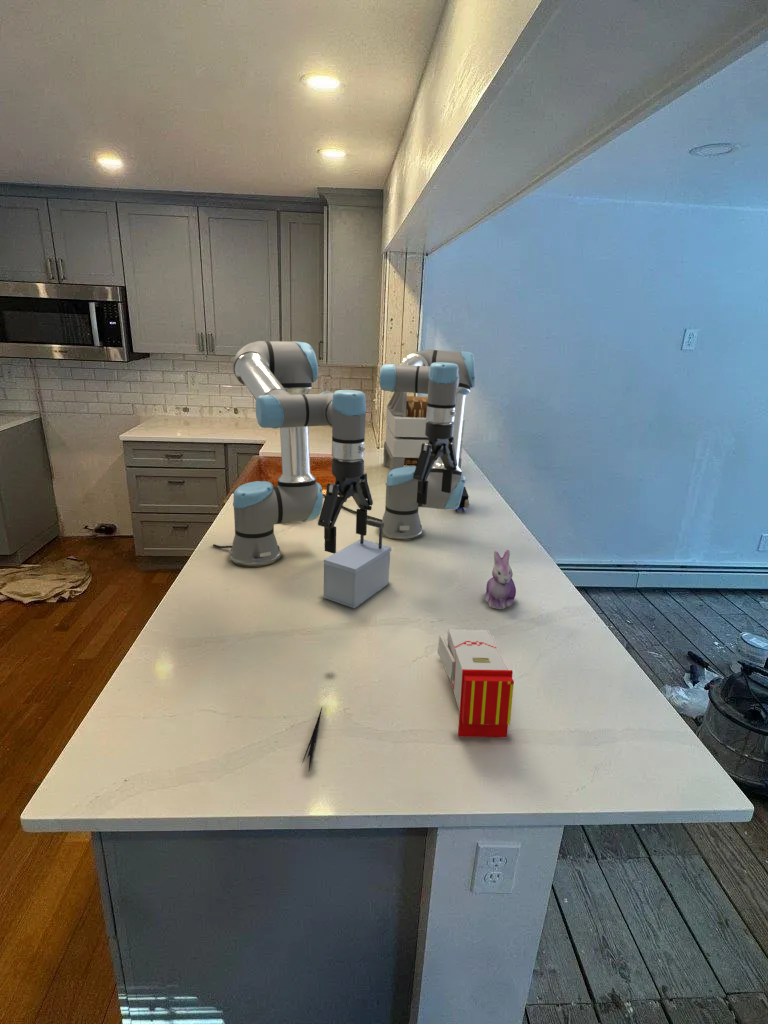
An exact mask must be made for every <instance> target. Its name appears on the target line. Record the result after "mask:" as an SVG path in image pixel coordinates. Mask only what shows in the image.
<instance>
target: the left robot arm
mask: <svg viewBox="0 0 768 1024" xmlns="http://www.w3.org/2000/svg"><path fill="white" fill-rule="evenodd" d="M317 359H318V358H317V356H316V352H315V350H314V349H313V347H312V346H311V344H310V343H308V342H303V341H296V340H293V341H290V340H289V341H288V340H287V341H285V340H284V341H280V340H278V341H275V340H274V341H271V340H269V341H268V340H257V341H252V342H250V343H247V344H245V345H244V346H243V347H242V348H240V349H239V350H238V351H237V353H236V354H235V356H234V357H233V362H232V371H233V374H234V376H235V378H236V379H237V381H238V382H239V383H240V384H241V385H243V386H244V387H247V389H248V390H249V392H250V394H251V395H252V397H253V399H255V417H256V421H257V424H258V425H259V427H260V428H263V429H274V430H275V429H279V433H280V434H279V435H280V453H281V454H280V457H281V475H280V476H279V477H278V478H277V485H275V486H274V485H273V483H271V482H270V481H266V480H265V481H264V480H262V481H261V480H256V481H250V482H246V483H243V484H241V485H239V486H238V487H237V488H236V489H235V490H234V491H233V499H232V500H233V501H232V507H233V516H234V517H233V519H234V537H233V540H232V544H231V545H219V544H215V543H214V544H212V547H213V548H217V549H230V551H229V560H230V561H231V562H232V563H233V564H235V565H238V566H241V567H246V568H259V567H265V566H268V565H269V566H270V565H272V564H274V563H276V562H277V561H279V559H280V558H281V548H280V546H279V545H278V540H277V538H276V535H275V530H274V529H275V525H281V524H289V523H290V524H291V523H297V522H303V523H304V522H307V521H311V520H312V521H313V520H315V519H317V518H318V517H319V518H318V521H317V526H319V527H322V528H323V538H324V552H327V553H330V554H335V553H336V552H337V526H335V525H336V522H337V521H338V518H339V515H340V513H341V511H342V509H343V508H342V506H344V503H347V501H348V499H349V498H351V497H352V498H353V501H354V502H355V504H356V505H357V507H358V508H357V509H356V510H355V511H356V514H355V534H357V535H360V536H361V535H364V537H365V536H367V532H368V531H367V527H368V525H367V519H368V518H367V515H368V511H372V508H373V507H372V506H373V505H374V502H373V497H372V494H371V493H372V492H371V489H370V488H369V487H370V486H369V483H368V474H367V473H366V472H365V460H364V459H363V458H365V450H366V447H365V440H366V438H365V437H366V417H367V415H366V414H367V401H366V398H367V397H366V394H365V393H364V391H361V390H355V389H339V390H335V391H322V392H320V393H309V392H311V390H312V389H313V383H316V381H317V380H318V377H319V376H318V375H319V365H318V360H317ZM327 426H330V427H331V431H332V432H331V457H332V460H331V474H332V475H333V476H334V478H335V481H334V483H327V484H326V490H325V495H326V496H325V497H324V496H323V494H324V492H323V488H322V485H321V484H320V483H319V482H317V480H316V476H314V475H313V474H312V473H311V456H310V455H311V454H310V453H311V452H310V434H309V433H310V431H309V430H310V429H309V427H327Z"/></svg>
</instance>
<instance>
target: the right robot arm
mask: <svg viewBox="0 0 768 1024" xmlns="http://www.w3.org/2000/svg"><path fill="white" fill-rule="evenodd" d="M475 365H476V364H475V355H474V354H473V352H469V351H462V350H442V349H424V350H419V351H416V352H412V353H409V354H407V355H406V356H405V357H404V358H403V359H402V360H401V362H399V363H398V364H395V363H384V364H382V365H381V367H380V371H379V388H380V390H381V391H383V392H391V393H394V392H406V393H411V394H423V395H424V394H425V395H427V397H428V403H427V413H426V420H427V421H428V422H427V423H426V428H425V435H426V436H427V437H428V438H429V442H428V444H426V443H422V446H421V453H420V456H419V459H418V462H417V466H404V467H400V468H396V469H393V470H391V471H390V470H389V472H388V473H387V475H386V482H385V504H384V505H385V507H384V508H385V509H384V513H383V515H382V519H381V518H378V517H375V516H371V515H368V514H367V519H371V520H375V521H379V522H383V523H384V527H383V532H382V537H385V538H387V539H389V540H395V541H410V540H415V539H418V538H420V537H421V536H422V535H423V525H422V524H421V518H420V515H419V508H428V509H437V510H443V511H446V510H450V511H455V509H457V508H458V507H459V505H460V501H461V497H462V493H463V489H464V487H465V483H466V477H465V476H463V470H462V468H461V469H460V468H459V467H458V462H459V452H460V442H461V440H462V438H461V432H462V422H463V419H464V412H465V411H464V410H465V403H466V402H465V401H466V397H467V396H468V395H469V394H470V393H471V389H473V388H475V387H476V369H475V368H476V367H475ZM325 496H326V494H324V493H323V498H325ZM341 509H343V510H345V511H347V512H350V513H353V514H355V515H356V511H357V510H353V509H351V508H349V507H346V506H344V505H343V506H342V508H341ZM457 510H458V509H457Z"/></svg>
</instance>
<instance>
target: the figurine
mask: <svg viewBox="0 0 768 1024" xmlns="http://www.w3.org/2000/svg"><path fill="white" fill-rule="evenodd" d="M510 555H511V551H510V550H509V549H506V550H505V552H504V553H503V555H502V557H501V555H500V553H499V552H498V551H497V550H494V551H493V558H494V559H493V562H494V565H493V568H492V570H491V575H492V577H490V578H489V579H488V580H487V583H486V586H485V589H486V590H485V594H484V596H485V597H484V599H485V602H486V603H487V604H488V607H490V608H492V609H498V610H504V609H505V608H510V607H511V606H512V605H513V603H514V602H515V597H516V596H517V595H516V594H517V588H516V584H515V581H514V580H513V576H514V575H513V574H514V573H513V570H512V567H511V565H510Z"/></svg>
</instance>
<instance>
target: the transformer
mask: <svg viewBox="0 0 768 1024" xmlns="http://www.w3.org/2000/svg"><path fill="white" fill-rule="evenodd" d="M407 394H408V392H393V394H392V395H391V398H390V400H389V402H388V404H387V405H386V413H385V414H386V415H385V423H386V428H385V438H384V442H383V466H384V467H388V468H389V472H390V471H391V470H393V469H396V468H400V467H405V466H406V467H416V466H417V462H418V459H419V456H420V453H421V446H422V443H426V444H428V442H429V438H428V437H427V436H426V435H425V428H426V423H427V422H428V421H427V420H426V413H427V403H428V396H415V395H414V396H413V395H412V396H411V395H407ZM464 429H465V419H464V418H463V422H462V432H461V442H460V452H459V462H458V467H459V468H460V469H461V470H462V461H463V460H462V453H463V442H464V441H463V440H462V439H463V438H464V431H465V430H464Z"/></svg>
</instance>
